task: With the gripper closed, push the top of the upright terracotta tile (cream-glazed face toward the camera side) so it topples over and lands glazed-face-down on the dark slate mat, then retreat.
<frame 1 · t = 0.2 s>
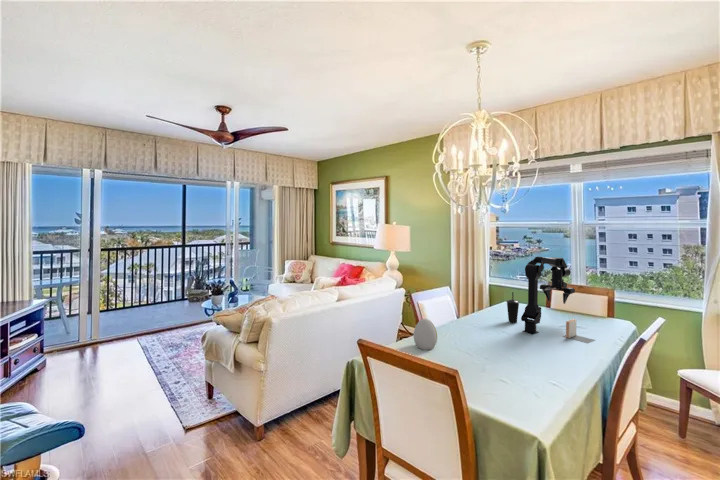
hand: (556, 302, 208), 14 cm above the table, fingers open, 9 cm apart
tile: (571, 336, 186), resting on mat
drinking cup: (512, 322, 215), on the table
decorative egg: (425, 347, 174), on the table
mat: (578, 338, 182), on the table
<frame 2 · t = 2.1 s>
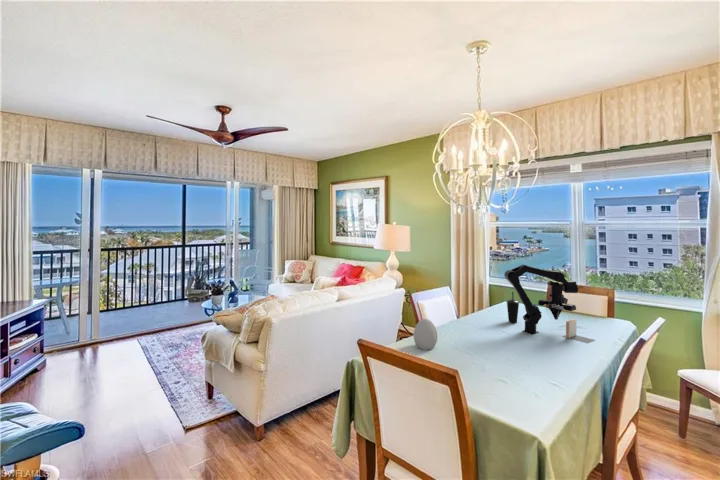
hand: (556, 319, 192), 8 cm above the table, fingers closed
nothing on the table moved.
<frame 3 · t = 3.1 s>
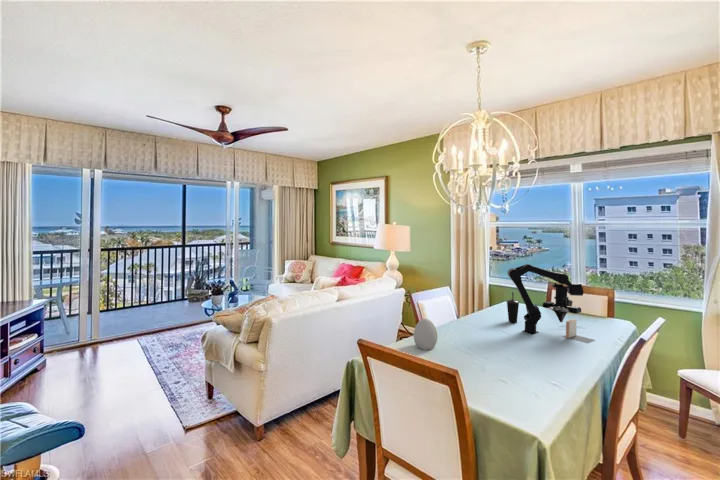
hand: (561, 322, 190), 7 cm above the table, fingers closed
nothing on the table moved.
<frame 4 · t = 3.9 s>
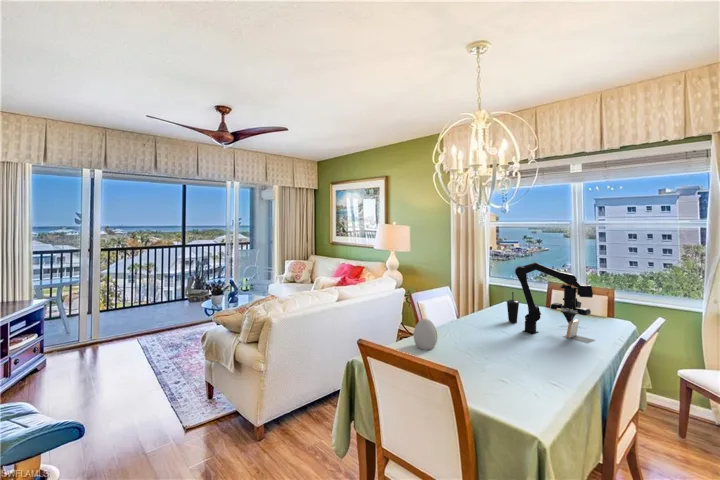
hand: (569, 324, 186), 7 cm above the table, fingers closed
tile: (571, 336, 186), resting on mat, tilted 9°
everything else where it was.
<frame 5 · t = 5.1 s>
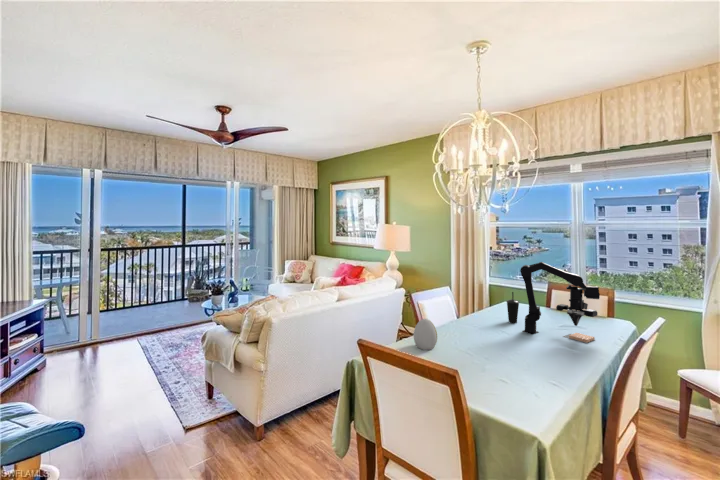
hand: (575, 325, 183), 7 cm above the table, fingers closed
tile: (572, 335, 185), point 1 cm above the table, tilted 90°, touching mat
everything else where it was.
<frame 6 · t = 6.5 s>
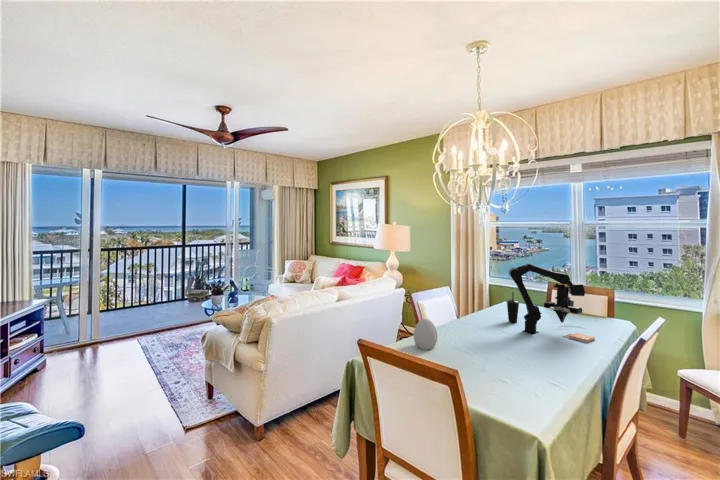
hand: (562, 322, 190), 7 cm above the table, fingers closed
nothing on the table moved.
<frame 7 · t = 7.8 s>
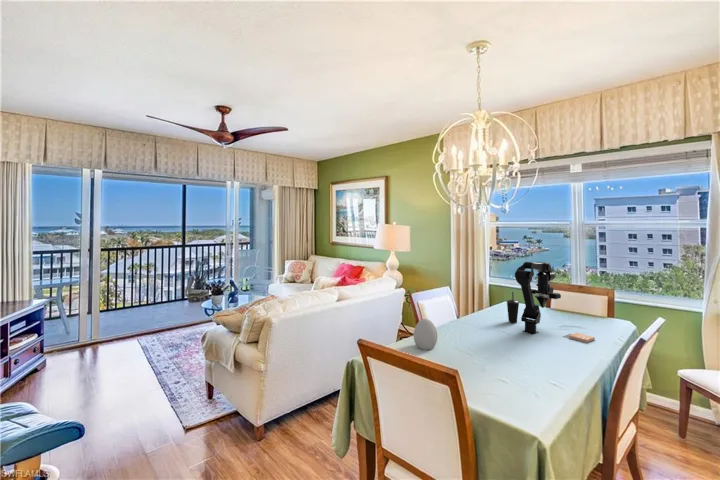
hand: (542, 307, 204), 12 cm above the table, fingers closed
nothing on the table moved.
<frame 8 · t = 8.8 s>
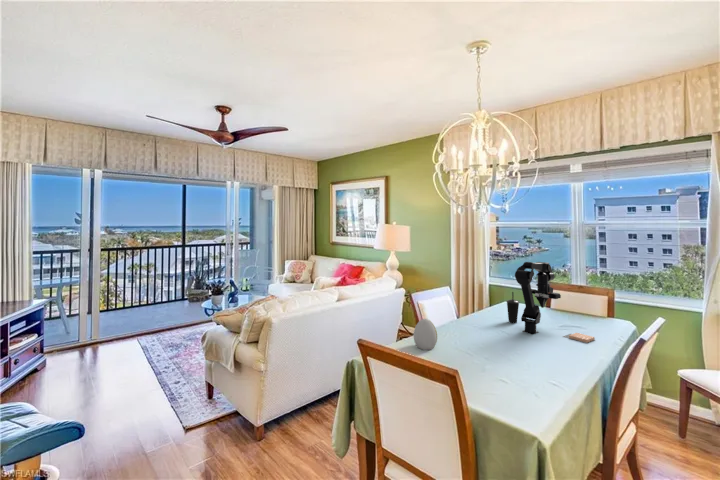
hand: (542, 307, 204), 12 cm above the table, fingers closed
nothing on the table moved.
at the end: tile tilted 90°; tile inside the target area on the mat (4.0 cm from its centre), point 1.2 cm above the mat's base; tile touching mat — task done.
